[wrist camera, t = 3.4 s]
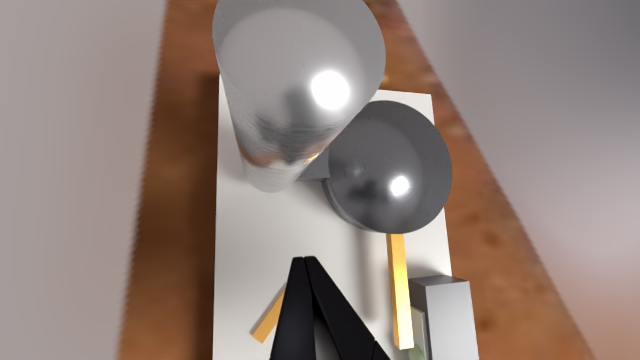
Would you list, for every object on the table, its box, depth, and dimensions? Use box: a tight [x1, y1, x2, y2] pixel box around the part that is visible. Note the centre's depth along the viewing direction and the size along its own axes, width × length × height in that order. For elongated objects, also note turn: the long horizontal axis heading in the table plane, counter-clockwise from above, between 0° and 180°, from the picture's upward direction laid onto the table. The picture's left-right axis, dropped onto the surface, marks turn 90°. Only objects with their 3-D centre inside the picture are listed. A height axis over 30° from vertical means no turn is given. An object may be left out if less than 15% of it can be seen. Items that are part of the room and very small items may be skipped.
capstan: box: [212, 0, 452, 349], centre depth 10 cm, size 14×12×11 cm
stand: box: [213, 75, 479, 360], centre depth 15 cm, size 22×15×4 cm
